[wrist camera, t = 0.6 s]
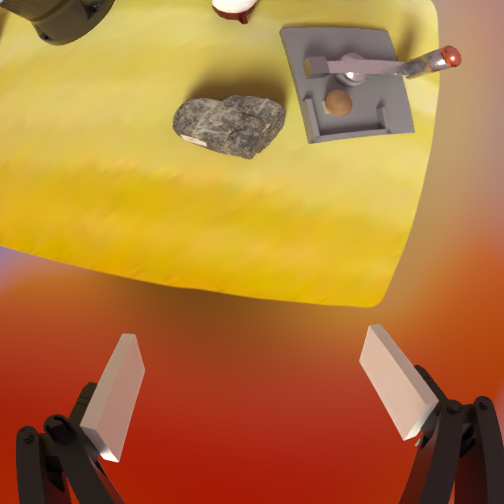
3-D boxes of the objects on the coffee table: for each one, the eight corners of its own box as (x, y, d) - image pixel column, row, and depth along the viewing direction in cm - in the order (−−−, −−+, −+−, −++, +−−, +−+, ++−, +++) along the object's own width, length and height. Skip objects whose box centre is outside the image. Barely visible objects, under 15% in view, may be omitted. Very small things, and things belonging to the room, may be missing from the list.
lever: (300, 57, 29) (329, 19, 18) (411, 59, 29) (459, 40, 18) (308, 86, 30) (342, 57, 19) (418, 84, 30) (470, 71, 19)
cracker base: (279, 32, 30) (283, 23, 27) (383, 33, 30) (392, 27, 27) (308, 144, 36) (315, 142, 33) (409, 132, 36) (421, 132, 33)
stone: (201, 164, 40) (158, 152, 31) (205, 120, 39) (166, 99, 30) (291, 164, 35) (268, 146, 26) (294, 114, 34) (272, 83, 25)
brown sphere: (318, 94, 31) (327, 88, 28) (342, 92, 31) (353, 86, 28) (324, 119, 32) (333, 115, 29) (348, 116, 32) (359, 113, 29)
